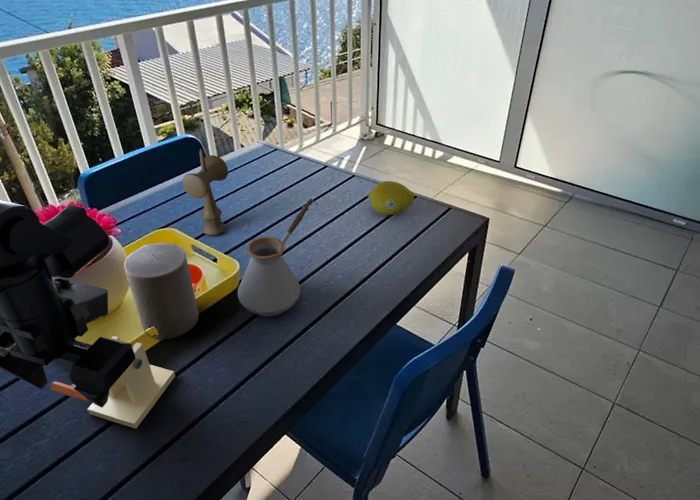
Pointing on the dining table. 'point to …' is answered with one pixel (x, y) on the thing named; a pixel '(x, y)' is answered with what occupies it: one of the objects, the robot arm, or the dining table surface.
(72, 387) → the lever
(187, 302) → the pillar candle
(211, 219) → the kendama
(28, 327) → the robot arm
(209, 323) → the dining table surface
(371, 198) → the lemon
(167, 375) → the bracket
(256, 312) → the coffee pot
